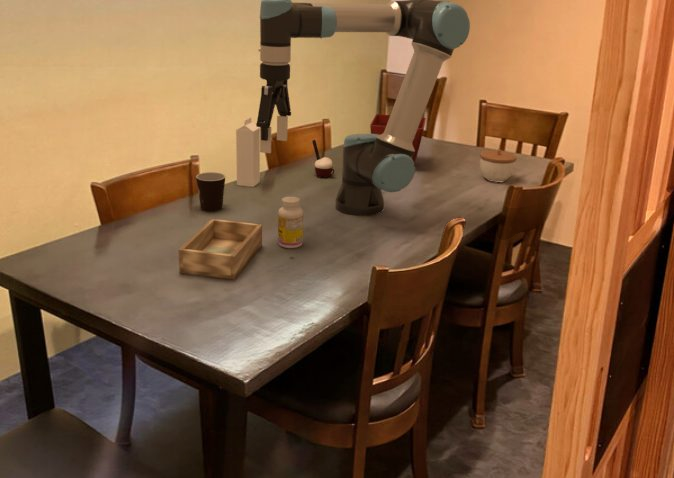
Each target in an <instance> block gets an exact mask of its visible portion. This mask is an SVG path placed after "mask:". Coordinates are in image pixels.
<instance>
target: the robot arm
mask: <svg viewBox="0 0 674 478" xmlns="http://www.w3.org/2000/svg"><path fill="white" fill-rule="evenodd" d="M259 21H260V22H259V24H260V25H259V27H260V28H259V30H260V31H259V33H260V34H259V35H260V41H259V43H260V46H259V48H258V49H257V51H258V52H260V53H259V57H260V58H259V60H260V61H261V62H260V64H259V77H260V78H261V79H262V80H264V81H266V85H261V88H260V89H261V93H260V100H259V108H258V113H257V120H256V124H255V125H256V126H257V127H259V128H260V153H263V154H272V126H271V123H272V120H273V115H274V112H275V107H276V110H277V113H278V115H276V141H283V142H287V141H288V127H289V126H288V123H289V121H288V117H291V116H292V111H291V110H292V109H291V104H290V96H289V88H288V82H289V81H288V80H290V78H291V64H289V63H290V62H291V57H292V56H291V51H292V49H291V48H292V47H291V46H292V45H291V44H292V39H297V38H298V39H301V38H302V39H304V38H305V39H321V40H322V38H323V39H324V38H325V39H326V38H332V37H333V36H334V35H335V34H336V33H385V34H386V35H388V36H389V37H401V38H407V39H411V40H412V41H411V46H412V49H413V53H412V57H411V59H410V62H409V64H408V67H407V70H406V72H405V75H404V78H403V81H402V83H401V86H400V88H399V92H398V94H397V96H396V99H395V102H394V105H393V108H392V109H391V113H390V114H389V115H390V118H389V120H388V123H387V126H386V128H385V131H384V133H383V134H381V135H378V134H371V133H353V134H348V135H346V136H345V138H344V140H343V146H342V149H343V153H342V170H341V171H342V177H341V184H340V187H339V190H338V192H337V195H336V197H335V209H336V210H338V211H339V212H341V213H343V214H344V213H345V214H347V215H353V216H372V214H373V215H377V214H380V213H382V212H383V211H384V210H383V209H385V207H384V206H385V201H384V195H383V193H382V190H383V191H384V192H386V193H388V192H389V193H396V192H400V191H401V190H403V189H405V188H406V187H408V186H409V184H410V183H411V182H412V181H413V178H414V176H415V173H416V166H415V163H414V162H413V160H412V157H413V154H414V152H415V150H414V147H413V145H412V142H413V140H414V137H415V134H416V132H417V129H418V126H419V124H420V121H421V119H422V117H423V116H424V114H425V110H426V109H427V105H428V103H429V99H430V98H431V95H432V92H433V90H434V87H435V85H436V82H437V79H438V76H439V74H440V72H441V69H442V66H443V65H444V64H443V63H444V62H445V61H447V60H449V59H451V57H452V55H453V53H454V49H457V48H460V46H462V45H464V44H465V42H466V41H467V39H468V36H469V35H470V30H471V22H470V18H469V16H468V13H467V10H465V8H464V7H463V6H462V5H460V4H458V3H455V2H452V1H449V0H390V1H388V2H387V3H386V4H385V3H384V4H383V3H382V4H381V3H371V4H370V3H339V2H338V3H335V2H334V3H333V2H332V3H331V2H292V0H261V2H260V11H259ZM382 210H383V211H382ZM381 211H382V212H381ZM379 212H380V213H379ZM376 213H377V214H376Z"/></svg>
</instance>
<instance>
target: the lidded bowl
mask: <svg viewBox="0 0 674 478" xmlns="http://www.w3.org/2000/svg"><path fill="white" fill-rule="evenodd" d="M516 161H517V156H516V154H513V153H512V152H508V151H504V150H502V149H497V150H484V151H482V152H480V155H479V170H480V173H481V175H482V176H483V177H484V179H485V178H486V179H489V180H493V181H504V180H505V181H507V179H509V178H511V176H512V175H513V173H514V170H515V167H516ZM486 179H485V180H486Z"/></svg>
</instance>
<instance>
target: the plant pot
mask: <svg viewBox="0 0 674 478" xmlns="http://www.w3.org/2000/svg"><path fill="white" fill-rule="evenodd" d="M390 115H391V114H382V113H379V114H378V113H376V114H375V115H374V117H373V119H372V120H371V123H370V124H369V126H370V127H369V128H370V134H378V135H381V134H383V133H384V131H385V128H386V126H387V123H388V120H389V118H390ZM426 119H427V118H426V117H425V116H424V117H423V116H422V119H421V121H420V124H419V126H418V129H417V132H416V134H415V137H414V140H413V142H412V145H413V147H414V150H415V152H414V154H413V157H412V160H413V162H414V164H415V163H416V159H417V157H418V153H419V150H420V146H421V143H422V142H421V141H422V138H423V134H424V130H425V125H426Z"/></svg>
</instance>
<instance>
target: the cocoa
mask: <svg viewBox="0 0 674 478" xmlns="http://www.w3.org/2000/svg"><path fill="white" fill-rule="evenodd" d="M312 146H313V148H314V149H313V151H314V153H315V157H316V161H315V162H314V172H315V175H316V176H317V177H319V178H323V179H324V178H328V177H331V176H333V175H334V174H335V169H334V168H333V160H332V159H331V158H329V157H322V158H321V156H320V153H319V148H318V145H317V141H316V139H313V140H312Z"/></svg>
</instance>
